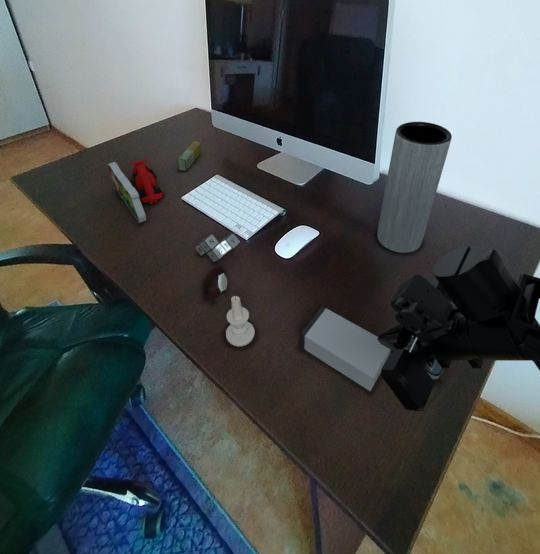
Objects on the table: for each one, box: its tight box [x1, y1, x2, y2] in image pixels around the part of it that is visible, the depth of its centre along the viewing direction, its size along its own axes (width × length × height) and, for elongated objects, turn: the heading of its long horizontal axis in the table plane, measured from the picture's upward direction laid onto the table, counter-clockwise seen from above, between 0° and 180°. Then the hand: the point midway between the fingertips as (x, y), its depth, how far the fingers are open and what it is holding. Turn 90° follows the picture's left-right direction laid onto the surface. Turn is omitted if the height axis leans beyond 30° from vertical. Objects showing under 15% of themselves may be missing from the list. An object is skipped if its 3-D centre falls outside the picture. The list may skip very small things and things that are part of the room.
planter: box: [376, 121, 453, 254], centre depth 78 cm, size 10×10×27 cm
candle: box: [225, 295, 256, 347], centre depth 64 cm, size 5×5×10 cm
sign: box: [107, 161, 147, 224], centre depth 98 cm, size 22×2×10 cm, turn 36°
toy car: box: [129, 158, 163, 205], centre depth 105 cm, size 6×18×5 cm, turn 26°
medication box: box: [177, 141, 202, 172], centre depth 117 cm, size 12×3×4 cm, turn 165°
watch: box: [202, 266, 228, 301], centre depth 75 cm, size 8×5×4 cm, turn 172°
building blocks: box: [193, 232, 241, 263], centre depth 82 cm, size 5×5×8 cm
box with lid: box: [300, 305, 392, 392], centre depth 62 cm, size 4×7×13 cm
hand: (379, 339), depth 56 cm, fingers closed
